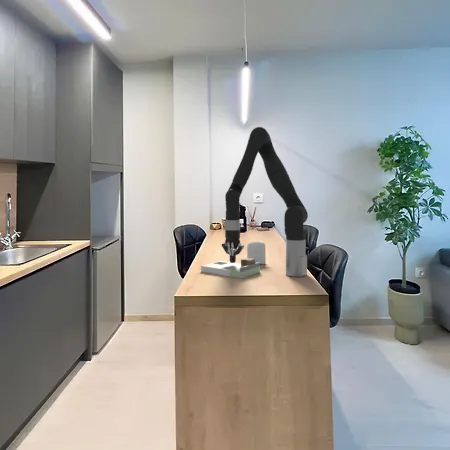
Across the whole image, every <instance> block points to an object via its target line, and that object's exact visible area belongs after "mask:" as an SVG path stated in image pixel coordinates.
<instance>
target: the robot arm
mask: <svg viewBox="0 0 450 450" xmlns="http://www.w3.org/2000/svg"><path fill="white" fill-rule="evenodd" d="M245 147H246V148H245V151H244V153H243V155H242V157H241V160H240V162H239V163H240V164H239V165H238V168H237V169H236V171H235V174H234V176H233V177H232V178H233V179H232V182H231V183H230V186H229V187H228V189H227V191H226V192H225V199H224V200H225V222H224V223H225V225H224V238H225V240H224V242H223V243H221V248H223V251H224V252H225V254H226V255H229V262H230V263H237V262H236V261H237V259H236V257H237V256H238V255H239V254H241V252H242V250H243V249H244V248H245V245H244V244H242V243H241V240H240V239H241V221H240V218H241V217H240V215H241V214H240V200H241V199H240V198H241V195H242V193H243V191H244V188H245V186H246V184H247V183H248V181H249V179H250V176H251V174H252V171H253V169H254V164H255V162H256V158H257V155H258V154H259V155H260V158H261V160H262V162H263V167H264V169H265V172H266V175H267V178H268V180H269V182H270V184H271V187H272V188H273V189H274V190H275V192H276V193H277V194H278V195H279V197H280V198H281V199H282V201H283V202H284V204H285V206H286V210H285V211H284V217H283V219H284V220H283V221H284V234H285V275H286V276H289V277H300V278H301V277H304V276H307V275H308V254H306V248H307V247H306V243H307V242H306V241H307V239H306V236H307V235H306V233H305V230H304V224H305V223H306V221H307V220H308V217H309V213H308V210H307V208H306V207H305V205H304V204H303V202H302V201H301V199H300V197H299V196H298V194H297V191H296V189H295V187H294V184H293V183H292V182H293V181H292V180H291V177H290V175H289V174H288V171H287V169H286V167H285V165H284V163H283V162H282V160H281V159H280V157H279V156H278V154H277V152H276V150H275V147H274V145H273V142H272V139H271V136H270V134H269V132H268V130H267V129H266V128H265V127H263V126H257V127H254V128H253V129H252V130H251V132H250V133H249V137H248V140H247V144H246V146H245Z"/></svg>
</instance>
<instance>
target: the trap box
mask: <svg viewBox="0 0 450 450" xmlns="http://www.w3.org/2000/svg"><path fill="white" fill-rule="evenodd" d="M200 272H201V273H206V274H213V275H218V276H226V277H229V278H231V277H232V278H236V279H243V278H247V277H250V276H252V275H256V274H259V273H260V272H261V264H260V262H257V263H254V264H250V265H247V266H244V267H241V263H240V262H239V263H237V262H235V263H230V261H225V260H224V261H223V260H220V261H214V262H211V263H207V264H203V265H200Z"/></svg>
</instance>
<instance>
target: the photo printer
mask: <svg viewBox="0 0 450 450" xmlns="http://www.w3.org/2000/svg"><path fill="white" fill-rule="evenodd" d="M246 246H247V247H246V251H247V253H246V254H247V255H246V258H252V259H255V263H257V262H260V265H265V264H266V262H267V261H266V243H265V242H262V241H251V242H248V243H247V245H246Z"/></svg>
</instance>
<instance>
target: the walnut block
mask: <svg viewBox="0 0 450 450" xmlns="http://www.w3.org/2000/svg"><path fill="white" fill-rule="evenodd" d="M254 263H255V259H252V258H247V257H245V258H241V259H240V264H241V267H244V266H247V265H250V264H254Z"/></svg>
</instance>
